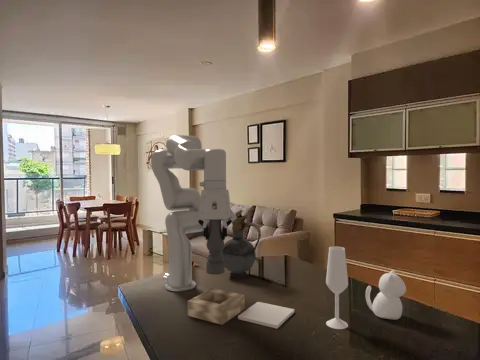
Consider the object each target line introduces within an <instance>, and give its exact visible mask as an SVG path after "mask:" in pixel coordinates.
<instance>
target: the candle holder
mask: <svg viewBox="0 0 480 360" xmlns="http://www.w3.org/2000/svg"><path fill="white" fill-rule="evenodd" d="M214 202H215V201H214ZM212 203H213V202H212ZM216 203H217V202H216ZM216 203H213V204H212V207H213V206H214V209H217V204H216ZM208 222H209V229H208V239H207V240H206V243H205V244H206V246H205V247H206V249H207V250H208V253H209V255H208V256H207V257H206V259H207V261H206V264H205V265H206V268H205V269H206V273H207V274H208V275H213V276H215V275H216V276H217V275H221V274H222V275H223V274H224V273H225V269H226V268H225V262H224V261H223V259H224V257H223V256H222V254H221V253H222V250H223V248H224V245H225V240H223V239H222V220H208Z"/></svg>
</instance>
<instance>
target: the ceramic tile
mask: <svg viewBox="0 0 480 360" xmlns="http://www.w3.org/2000/svg"><path fill="white" fill-rule="evenodd" d="M294 313H295V308H290V307H284V306H281V305H275V304H272V303H271V304H270V303H266V302H262V301H257V302H255V303H254V304H252V305H251V306H250V307H248V308H247V309H245V310H243V311H242V312H240V313H239V314H238V315H237V319H238V320H241V321H245V322H249V323H252V324H255V325H256V324H257V325H260V326H264V327H268V328H272V329H279V328H280V327H281V326H282V325H283V323H285V322H286V321H287V320H288V319H289V318H290V317H291V316H292V315H293V314H294Z"/></svg>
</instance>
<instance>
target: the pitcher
mask: <svg viewBox="0 0 480 360" xmlns="http://www.w3.org/2000/svg"><path fill="white" fill-rule="evenodd" d="M243 212H244V210H243V209H240V210H239V211H235V212H234V214H235V215H236V216H237V219H236V220H234V221H233V222H232V223H231V224H232V227H231V230H232V238H231V239H229V240H228V241H226V242H224V248H223V250H222V253H221V254H222V256H223V257H224V259H223V261H224V262H225V269H226V271H229V272H230V273H229V276H230V277H232V278H238V279H239V278H241V279H242V278H245V277H247V275H248V273H247V272H248V271H249V270H251V268H252V267H253V266H254V263H255V262H256V263H257V264H259V263H260V262H259V259H258V258H257V256H256V255H257V254H256V250H257V247H258V245H259V243H260V239H261V236H262V232H261V228H260V226H259V225H258V224H257V223H255V222H249V223H247V222H246V221H245V220H246V219H247V218H248V216H249V214H244V215H242V213H243ZM231 218H232V216H231V215H230V217H229V218H228V219H231ZM249 227H253V228H255V229H256V230H257V241H256V243H255V246H254V245H253V243H252V242H250V241H249V240H247V239H246V238H245V237H244V230H245V228H249Z"/></svg>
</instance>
